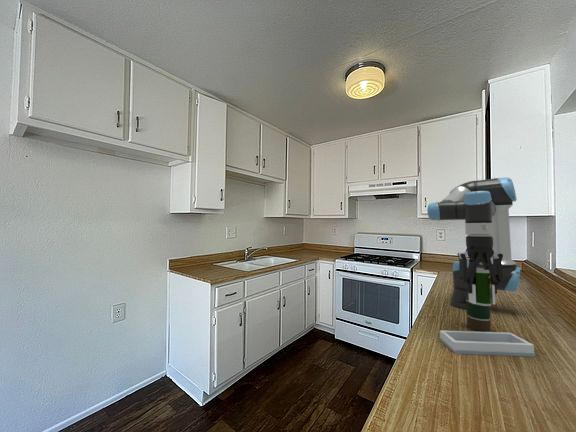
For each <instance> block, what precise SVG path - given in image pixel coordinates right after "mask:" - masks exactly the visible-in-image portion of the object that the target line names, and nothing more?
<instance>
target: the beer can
mask: <svg viewBox="0 0 576 432" xmlns="http://www.w3.org/2000/svg"><path fill="white" fill-rule="evenodd" d="M489 270H490V269H488V270H487V269H485V268H476V272H475V276H474V280H473V284H475V287H476V304H477V305H481V306H490V307H491V306H492V305H493V304H492V293H491V272H490V271H489Z"/></svg>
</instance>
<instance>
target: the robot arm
mask: <svg viewBox="0 0 576 432" xmlns="http://www.w3.org/2000/svg"><path fill="white" fill-rule="evenodd" d="M516 201H517V193H516V189H515V185H514V182H513V180H512V178H510V177H494V178H488V179H487V178H486V179H480V180H479V179H478V180H471V181H467V182H464V183H461V184H459V185H457V186H455V187H454V188H452V189H451V190H450V191H449V194H448V195H447V196H446V197H444V198H443V199H442V200H441V201H438V202H436V201H435V202H430V203H429V204H428V205H427V216H428V219H429V220H430V221H456V220H457V221H459V220H464V222H465V223H464V225H465V228H464V229H465V235H467V236H465V246H466V249H465V251H464V252H458V253H457V258H458V261H454V263H453V264H452V270H451V271H452V282H453V284H452V285H453V287H452V288H453V290H452V293H451V296H450V299H449V304H450V305H451V306H453V307H456V308H459V309H463V310H467V303H466V297H467V293H469V302H471V303H473V304H476V287H475V284H473V280H474V276H475V272H476V268H485V269H487V270H488V269H490V270H489V271H490V272H491V293H492V304H491V305H496V295H497V294H498V291H503V292H506V291H507V292H516V291H517V290H518V289H519V284H520V277H521V267H519V266H517V263H516V262H515V261H514V260H513V259H512V248H511V247H512V246H511V245H512V244H511V243H512V242H511V227H510V213H509V210H510V208H511V207H512V206H513V205H514V204H513V202H514V203H515V202H516ZM468 258H469V260H468Z"/></svg>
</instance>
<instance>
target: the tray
mask: <svg viewBox="0 0 576 432" xmlns="http://www.w3.org/2000/svg"><path fill="white" fill-rule="evenodd" d="M438 339H439V341H440V342H442V344H444V345H445V346H446V348H448V349H449V350H451V351H452V352H453V354H456V355H458V354H460V355H477V356H478V355H479V356H481V355H485V356H501V357H502V356H505V357H530V358H536V353H535V345H534V344H533V343H531V342H529V341H527V340H525V339H524V338H522V337H519V336H518V335H516V334H514V333H512V332H503V331H501V332H498V331H489V332H480V331H474V330H473V331H471V330H441V329H440V330H439V338H438Z"/></svg>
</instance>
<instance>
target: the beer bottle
mask: <svg viewBox="0 0 576 432" xmlns="http://www.w3.org/2000/svg"><path fill="white" fill-rule="evenodd" d="M466 303H467V309H466V321H467V322H466V323H467V327H468V328H469V329H471V330H473V331H475V332H491V331H490V330H491V327H492V326H491V325H492V320H491V306H481V305H477V304H473V303H471V302H469V293H467V297H466Z"/></svg>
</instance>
